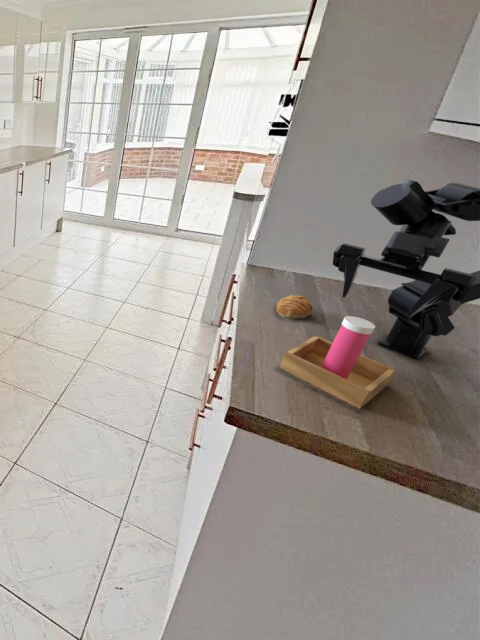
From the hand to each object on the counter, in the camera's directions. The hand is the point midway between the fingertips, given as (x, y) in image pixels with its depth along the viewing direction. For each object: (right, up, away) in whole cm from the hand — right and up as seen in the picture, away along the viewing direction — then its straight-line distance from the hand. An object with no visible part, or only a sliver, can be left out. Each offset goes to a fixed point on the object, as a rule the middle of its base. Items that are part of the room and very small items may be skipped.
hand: (374, 306), depth 77 cm
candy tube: (-7, -13, +1) cm, 15 cm away
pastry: (+4, -4, +24) cm, 25 cm away
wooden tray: (-7, -14, +1) cm, 16 cm away
